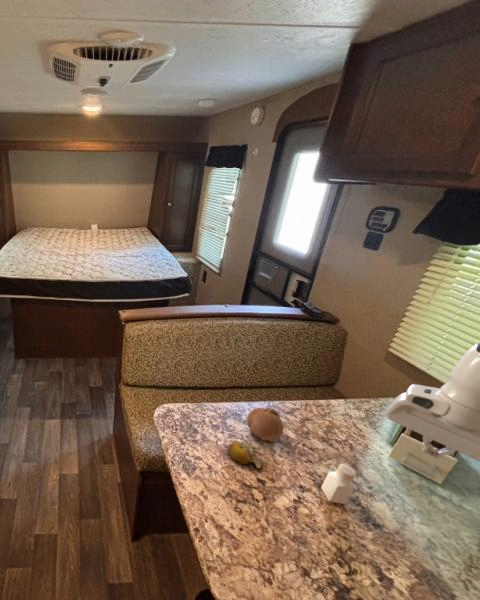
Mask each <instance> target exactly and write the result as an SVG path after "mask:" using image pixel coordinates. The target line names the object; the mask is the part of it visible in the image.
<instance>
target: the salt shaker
mask: <svg viewBox="0 0 480 600" xmlns="http://www.w3.org/2000/svg"><path fill="white" fill-rule="evenodd" d="M356 475H357V473H356V471H355V469H353V467H351V466H349V465H347V464H345V463H339V465H338V467H337V468H336V471H329V472H328V473H327V475H326V477H325V478H324V481H323V483H322V484H321V491H322V492H323V494H324V495H325V497H326V498H327V501H329V502H330V503H336V504H342V505H345V504H347V503H348V500H349V499H350V497H351V496H352V494H353V492H354V491H355V485H354V483H353V480H354V478H355V477H356Z"/></svg>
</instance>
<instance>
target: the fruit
mask: <svg viewBox="0 0 480 600" xmlns="http://www.w3.org/2000/svg"><path fill="white" fill-rule="evenodd" d="M227 454H228V455H229V456H230V457H231V458H232V459H233V461H234V462H236V463H238V464H239V465H247V464H249V463H254V464H255V467H256V469H257V470H258V469H261V468H262V467H263V464H262V462H260V460H259V459H258V456H254V455H253V454H255V453H254V447H253V445H251V444H249V443H244V444H243V443H241V442H240V441H234V442H232V443H231V444H230V445H229V446H228V448H227Z"/></svg>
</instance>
